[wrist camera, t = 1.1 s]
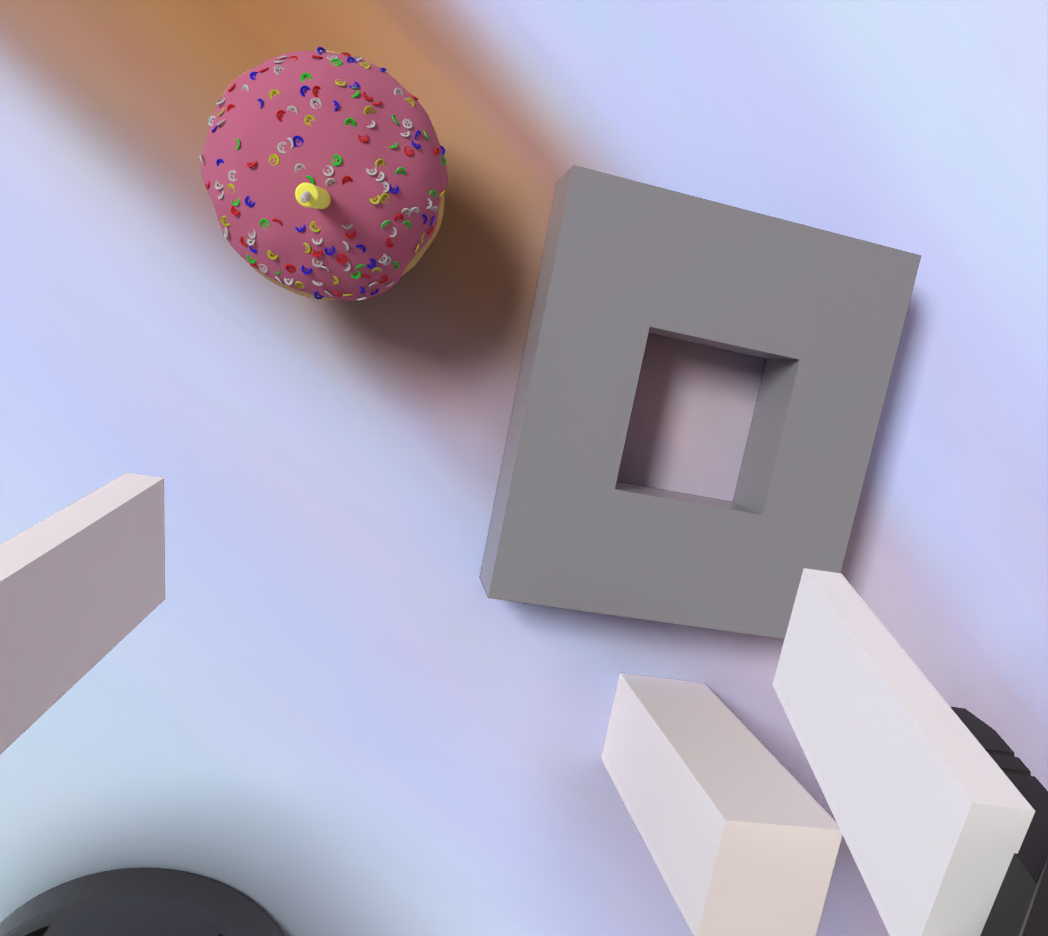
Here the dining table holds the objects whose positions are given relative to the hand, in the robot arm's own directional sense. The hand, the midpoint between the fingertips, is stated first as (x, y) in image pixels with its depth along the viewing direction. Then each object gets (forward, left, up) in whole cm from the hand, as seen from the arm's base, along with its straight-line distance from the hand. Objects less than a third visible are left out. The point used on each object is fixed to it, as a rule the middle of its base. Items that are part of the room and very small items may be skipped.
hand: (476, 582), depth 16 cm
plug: (-11, -13, -19) cm, 26 cm away
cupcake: (+10, +6, -19) cm, 22 cm away
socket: (+4, -11, -19) cm, 22 cm away
